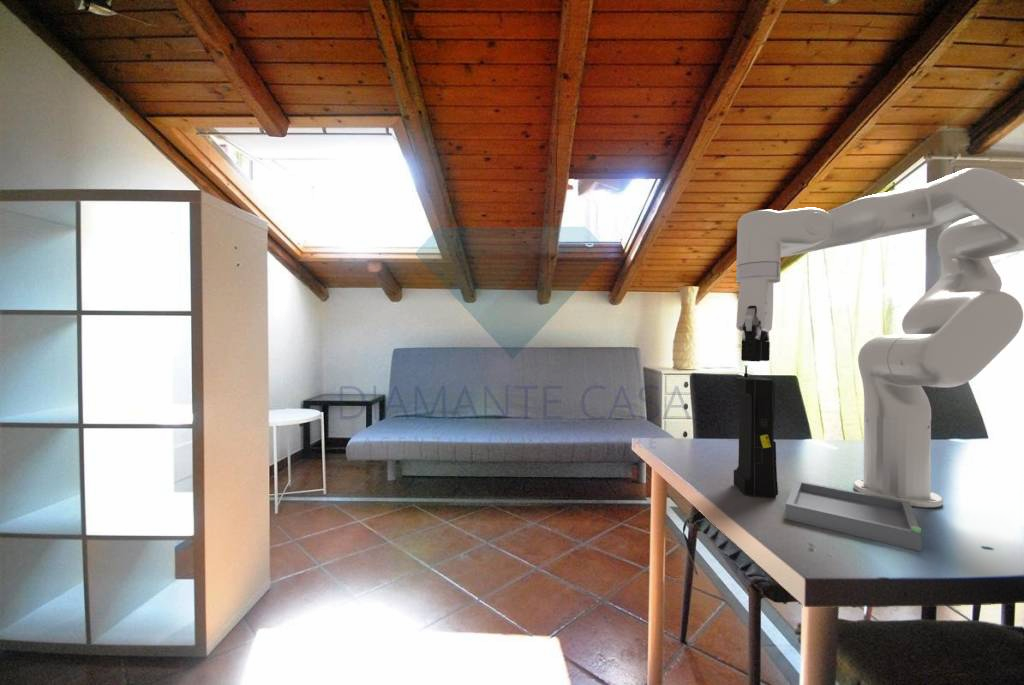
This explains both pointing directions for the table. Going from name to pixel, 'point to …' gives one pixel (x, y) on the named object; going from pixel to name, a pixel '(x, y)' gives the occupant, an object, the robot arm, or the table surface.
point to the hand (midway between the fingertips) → (755, 360)
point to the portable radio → (756, 437)
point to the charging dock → (855, 514)
